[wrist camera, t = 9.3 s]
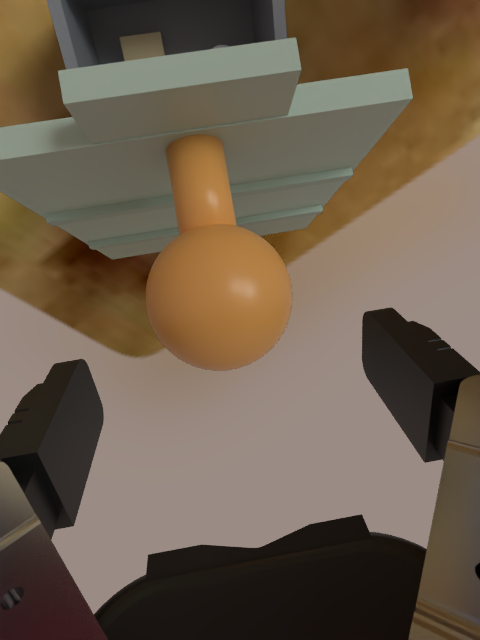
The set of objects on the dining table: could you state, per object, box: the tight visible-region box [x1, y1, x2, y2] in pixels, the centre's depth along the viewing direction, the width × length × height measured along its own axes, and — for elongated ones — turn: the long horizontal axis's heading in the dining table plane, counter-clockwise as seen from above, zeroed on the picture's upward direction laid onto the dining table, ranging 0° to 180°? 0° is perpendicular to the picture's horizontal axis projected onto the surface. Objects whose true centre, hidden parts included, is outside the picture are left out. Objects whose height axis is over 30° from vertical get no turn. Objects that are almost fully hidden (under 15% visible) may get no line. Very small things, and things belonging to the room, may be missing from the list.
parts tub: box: [47, 0, 287, 69], centre depth 24 cm, size 11×14×7 cm
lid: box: [0, 37, 413, 371], centre depth 16 cm, size 12×15×7 cm
